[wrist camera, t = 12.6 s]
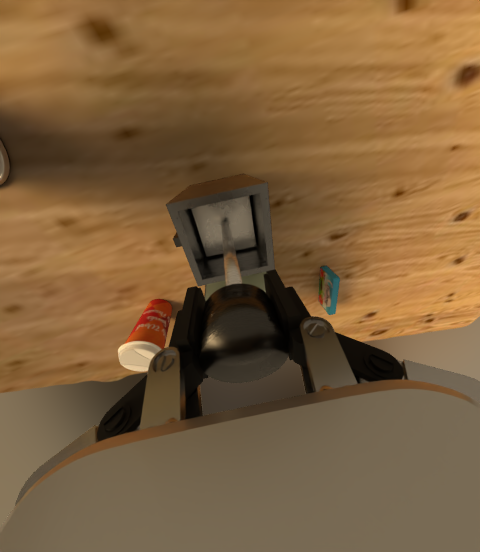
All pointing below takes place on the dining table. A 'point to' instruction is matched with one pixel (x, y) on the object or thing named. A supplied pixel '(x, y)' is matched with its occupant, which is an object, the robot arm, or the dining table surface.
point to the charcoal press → (189, 236)
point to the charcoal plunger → (236, 302)
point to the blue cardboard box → (328, 289)
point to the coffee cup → (146, 336)
